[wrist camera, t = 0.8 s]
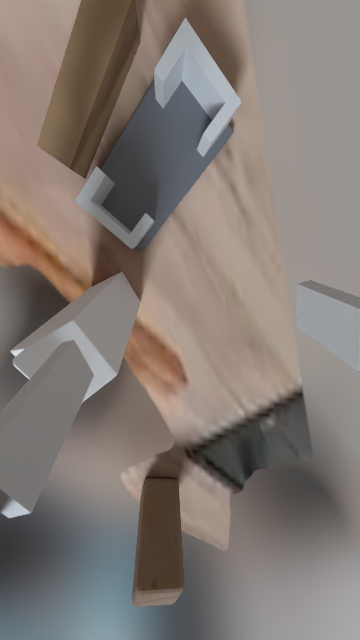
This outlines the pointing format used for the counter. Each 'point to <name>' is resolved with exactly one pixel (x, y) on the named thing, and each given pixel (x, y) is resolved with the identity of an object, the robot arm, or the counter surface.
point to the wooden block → (158, 545)
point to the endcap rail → (163, 143)
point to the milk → (86, 331)
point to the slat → (90, 81)
